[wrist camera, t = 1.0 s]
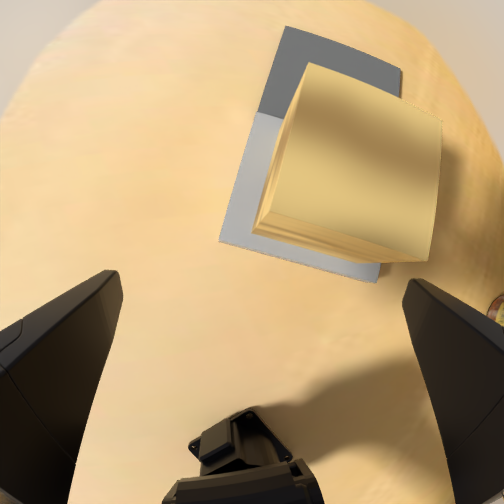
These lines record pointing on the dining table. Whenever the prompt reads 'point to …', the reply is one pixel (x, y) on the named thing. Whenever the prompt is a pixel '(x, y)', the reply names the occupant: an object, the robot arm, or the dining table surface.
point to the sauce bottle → (497, 310)
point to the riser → (248, 200)
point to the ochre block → (352, 173)
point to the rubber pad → (323, 54)
